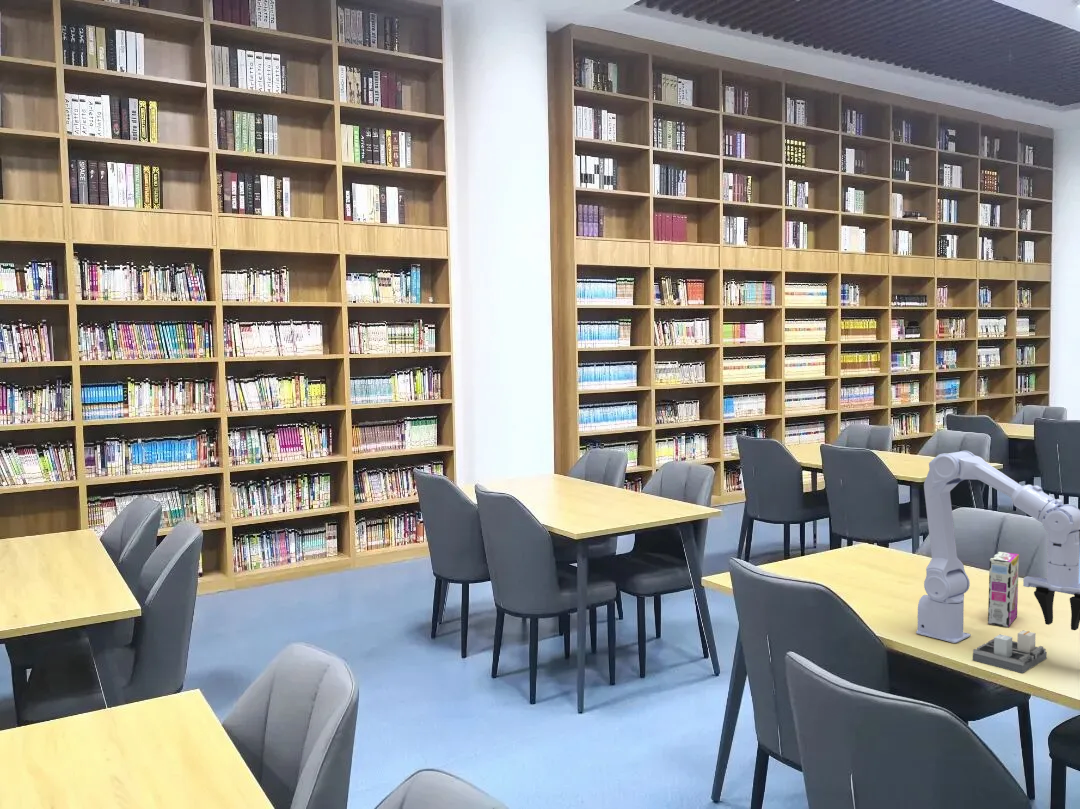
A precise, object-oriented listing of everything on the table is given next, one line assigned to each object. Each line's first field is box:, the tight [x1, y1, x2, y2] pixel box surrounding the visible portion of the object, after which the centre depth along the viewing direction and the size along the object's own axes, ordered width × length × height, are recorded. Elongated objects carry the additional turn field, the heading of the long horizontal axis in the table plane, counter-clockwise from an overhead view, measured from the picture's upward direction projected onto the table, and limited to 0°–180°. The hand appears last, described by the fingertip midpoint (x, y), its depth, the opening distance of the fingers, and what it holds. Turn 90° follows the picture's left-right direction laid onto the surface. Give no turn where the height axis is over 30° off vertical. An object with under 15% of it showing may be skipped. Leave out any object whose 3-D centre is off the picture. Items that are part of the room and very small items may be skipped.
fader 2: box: [1016, 630, 1037, 652], centre depth 180 cm, size 2×3×4 cm
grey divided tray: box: [972, 638, 1048, 674], centre depth 180 cm, size 10×13×3 cm
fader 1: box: [993, 634, 1013, 657], centre depth 178 cm, size 2×3×4 cm
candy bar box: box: [987, 551, 1020, 628], centre depth 206 cm, size 11×5×16 cm, turn 141°
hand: (1061, 626), depth 175 cm, fingers open, 4 cm apart
